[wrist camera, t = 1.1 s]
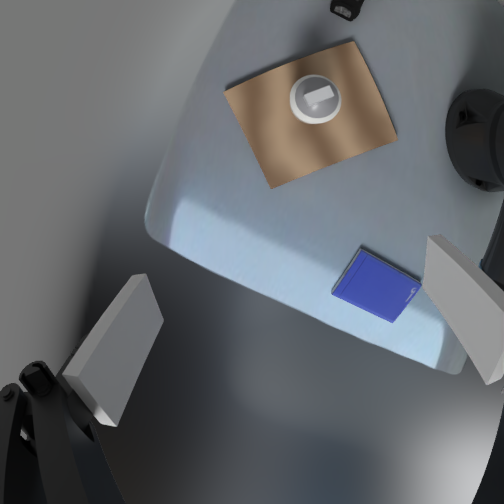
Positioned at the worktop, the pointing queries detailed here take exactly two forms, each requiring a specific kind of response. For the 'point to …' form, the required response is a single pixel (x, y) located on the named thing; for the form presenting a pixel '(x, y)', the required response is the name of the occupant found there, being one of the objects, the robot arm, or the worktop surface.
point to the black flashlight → (346, 8)
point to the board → (311, 135)
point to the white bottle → (315, 99)
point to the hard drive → (376, 286)
